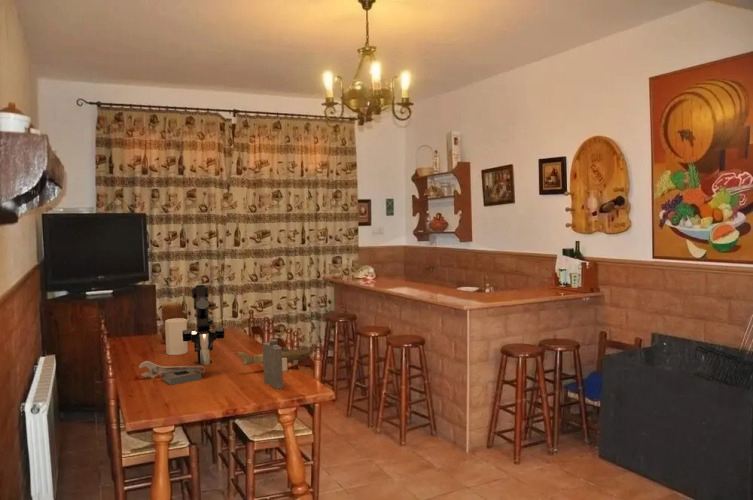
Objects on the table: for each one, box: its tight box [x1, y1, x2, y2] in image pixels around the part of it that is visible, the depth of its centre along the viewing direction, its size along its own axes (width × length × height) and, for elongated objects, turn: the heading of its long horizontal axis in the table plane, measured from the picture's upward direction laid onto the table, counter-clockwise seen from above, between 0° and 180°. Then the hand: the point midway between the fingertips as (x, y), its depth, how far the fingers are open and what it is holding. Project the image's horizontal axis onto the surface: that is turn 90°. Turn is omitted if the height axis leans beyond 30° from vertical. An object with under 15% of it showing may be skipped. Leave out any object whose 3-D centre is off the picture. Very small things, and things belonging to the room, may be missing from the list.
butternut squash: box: [161, 301, 184, 342], centre depth 354 cm, size 14×13×25 cm
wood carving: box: [237, 346, 311, 372], centre depth 285 cm, size 9×35×11 cm, turn 114°
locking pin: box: [199, 333, 211, 366], centre depth 274 cm, size 4×4×14 cm
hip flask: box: [262, 338, 284, 390], centre depth 260 cm, size 16×4×20 cm, turn 33°
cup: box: [165, 317, 188, 356], centre depth 327 cm, size 11×11×18 cm
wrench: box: [138, 360, 207, 380], centre depth 280 cm, size 8×2×30 cm
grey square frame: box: [161, 368, 202, 386], centre depth 272 cm, size 12×14×3 cm
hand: (204, 349), depth 273 cm, fingers closed on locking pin, 4 cm apart
